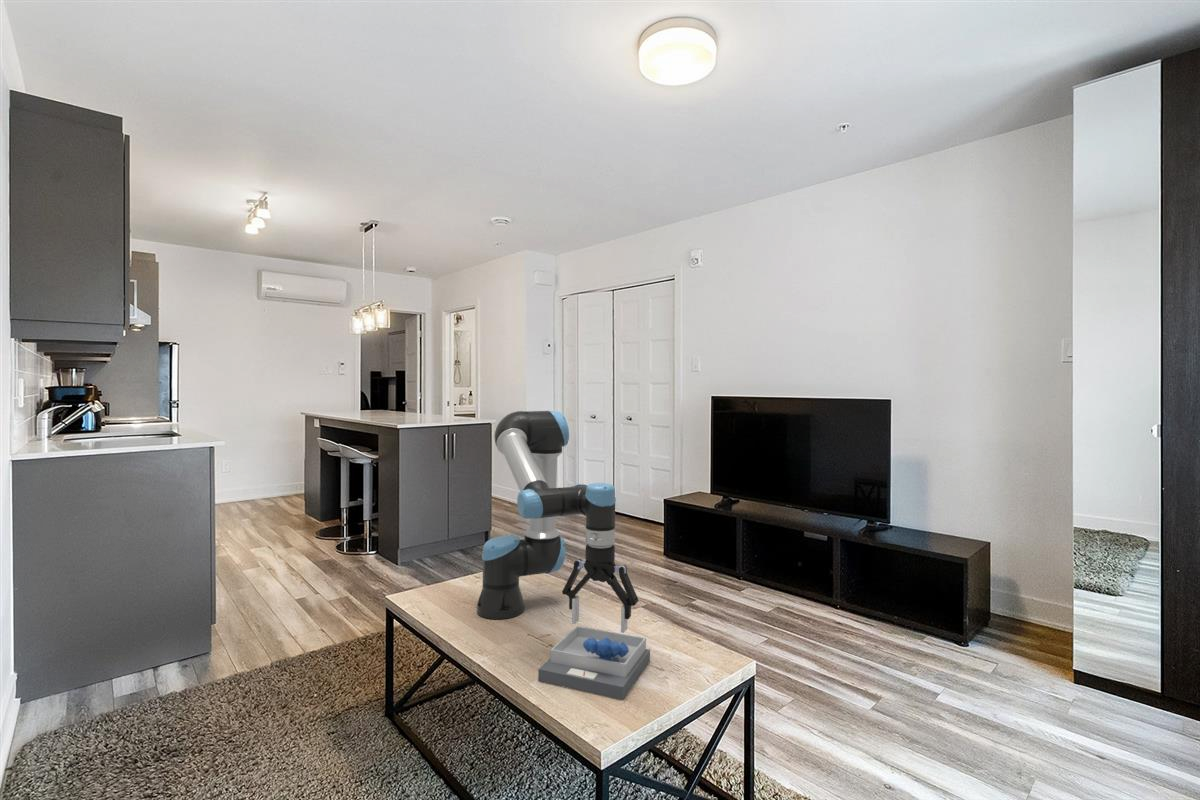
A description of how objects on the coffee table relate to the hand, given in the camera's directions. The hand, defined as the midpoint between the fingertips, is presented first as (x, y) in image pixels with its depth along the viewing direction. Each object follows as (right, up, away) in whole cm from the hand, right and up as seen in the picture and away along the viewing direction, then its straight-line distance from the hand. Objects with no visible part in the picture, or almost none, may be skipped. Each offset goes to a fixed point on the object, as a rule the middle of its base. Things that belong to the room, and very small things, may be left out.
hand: (599, 626), depth 148 cm
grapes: (+1, -7, -1) cm, 7 cm away
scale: (-1, -11, -2) cm, 11 cm away
